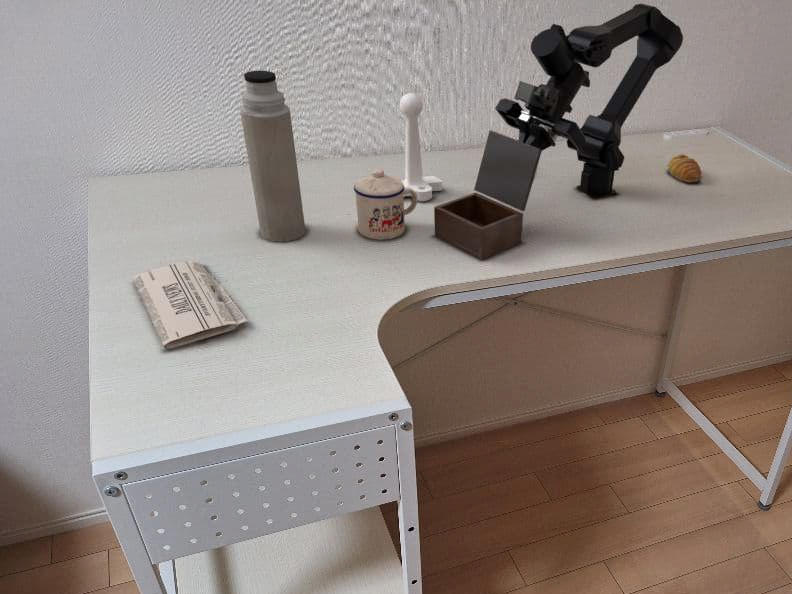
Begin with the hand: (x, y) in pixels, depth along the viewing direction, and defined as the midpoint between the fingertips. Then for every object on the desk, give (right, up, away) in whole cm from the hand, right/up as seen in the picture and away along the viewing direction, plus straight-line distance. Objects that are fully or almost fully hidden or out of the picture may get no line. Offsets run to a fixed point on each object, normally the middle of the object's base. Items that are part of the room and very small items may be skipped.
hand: (516, 162), depth 143 cm
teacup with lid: (-24, -12, +3) cm, 27 cm away
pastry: (+38, +8, +35) cm, 52 cm away
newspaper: (-51, -30, -23) cm, 63 cm away
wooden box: (-7, -14, +2) cm, 16 cm away
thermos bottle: (-43, -13, -1) cm, 45 cm away
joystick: (-21, -2, +16) cm, 27 cm away
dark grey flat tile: (-2, -2, -1) cm, 3 cm away
